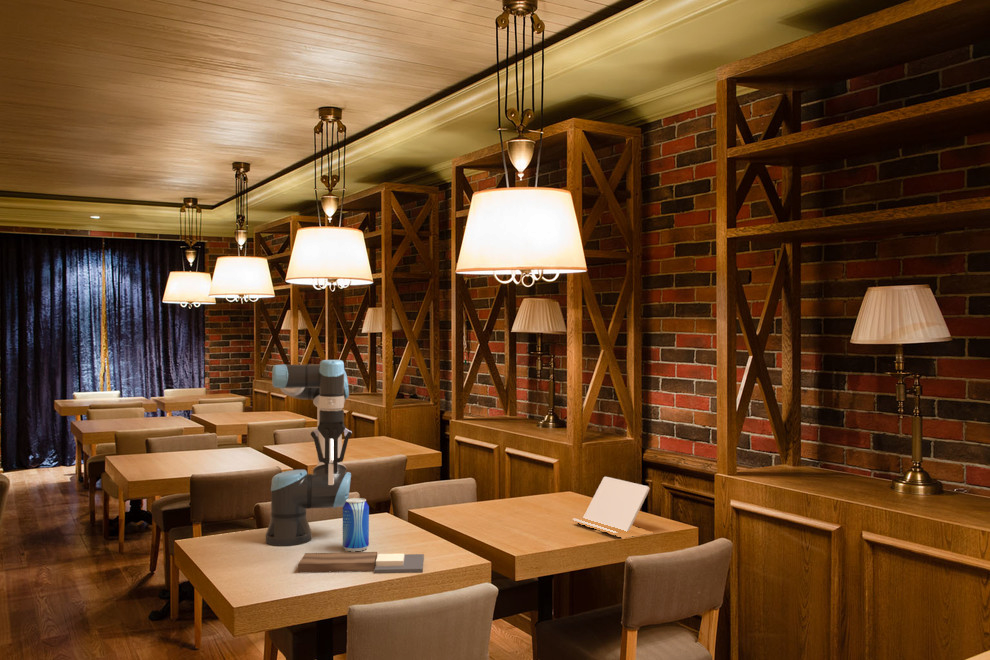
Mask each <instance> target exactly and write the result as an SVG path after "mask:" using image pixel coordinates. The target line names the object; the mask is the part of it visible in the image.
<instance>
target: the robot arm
mask: <svg viewBox="0 0 990 660" xmlns="http://www.w3.org/2000/svg"><path fill="white" fill-rule="evenodd" d="M271 370H272V375H271V377H272V378H271V379H272V380H271V381H272V387H273V388H275V389H280V391H281V392H282V393H283V394H284V395H286V396H288V397H290V398H294V399H298V400H312V402H313V403H312V405H314V406H315V407H317V410H316V411H317V415H316V416H317V418H316V419H317V420H316V423H317V427H316V429H315V430H312V431H311V432H310V436H311V437H312V439H313V441H314V446H315V450H316V454H317V465H316V466H314V467H313V470H312V473H309V474H308V472H307V470H306V469H302V468H301V469H293V470H287V471H283V472H279V473H277V474H275V475H273V477H272V479H271V487H270V491H271V495H270V497H271V500H270V501H271V502H270V503H271V504H270V521H269V524H268V527H267V531H266V533H265V543H266V544H268V545H269V546H270V545H271V546H277V547H278V546H279V547H280V546H281V547H283V546H285V547H286V546H296V545H302V544H305V543H309V542H310V541H311V540H312V530H311V527H310V526H311V525H310V524H309V521H308V517H307V510H308V509H310V510H311V509H330V508H333V509H336V508H341V507H342V508H343V506H344V504H345V503H346V500H347V499H350V498H349V496H350V488H351V481H352V479H351V478H352V473H351V472H350V471H348V468H347V466H346V465H345V464H343V461H344V458H345V454H346V450H347V446H348V443H349V439H350V437H351V436H352V434H353V431H352V430H349V429H348V428H346V425H345V423H344V422H345V418H344V417H345V413H344V411H345V410H344V407H345V403H346V400H348V398H349V397H350V390H349V380H348V375H347V372H346V370H345V363H344V360H341V359H323V360H321V361H319V364H317V363H316V364H314V363H313V364H285V363H283V364H275V365H273V367H272V369H271ZM342 434H343V435H342ZM343 436H344V439H343Z"/></svg>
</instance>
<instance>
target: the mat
mask: <svg viewBox="0 0 990 660" xmlns="http://www.w3.org/2000/svg"><path fill="white" fill-rule="evenodd" d="M403 554H404V563H403V566H375V569H374V571H373V572H374V574H398V573H399V574H401V573H402V574H405V573H407V574H408V573H409V574H411V573H423V572H424V571H423V570H424V560H425V559H424V557H425V554H423V553H417V554H416V553H414V554H413V553H412V554H410V553H409V554H406V553H403Z"/></svg>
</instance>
